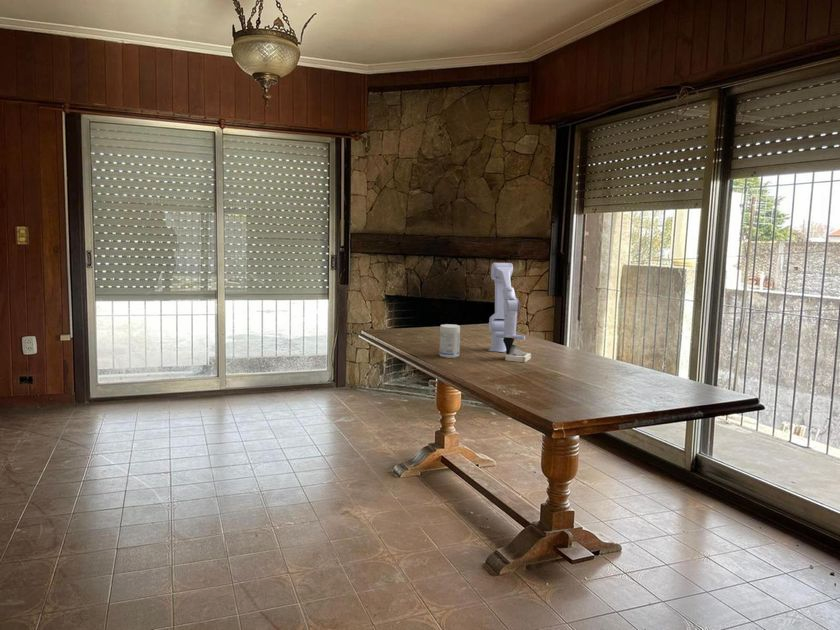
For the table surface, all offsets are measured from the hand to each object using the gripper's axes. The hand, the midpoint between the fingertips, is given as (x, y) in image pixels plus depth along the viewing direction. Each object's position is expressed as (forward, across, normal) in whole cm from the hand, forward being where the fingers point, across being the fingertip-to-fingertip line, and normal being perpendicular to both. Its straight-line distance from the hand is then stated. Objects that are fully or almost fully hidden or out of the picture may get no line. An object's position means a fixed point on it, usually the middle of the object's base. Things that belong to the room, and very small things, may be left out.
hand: (508, 353), depth 299 cm
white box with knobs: (+2, +2, +1) cm, 3 cm away
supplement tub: (+3, -26, -10) cm, 28 cm away
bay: (+2, +4, +1) cm, 5 cm away
